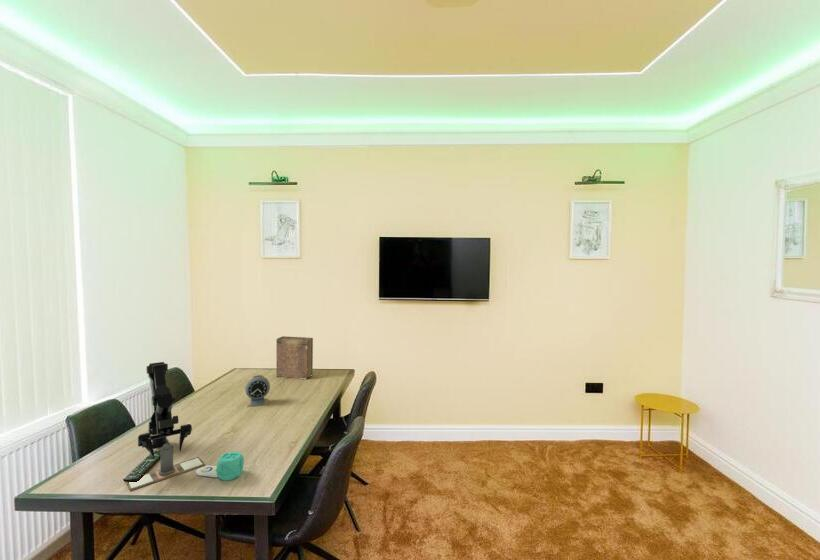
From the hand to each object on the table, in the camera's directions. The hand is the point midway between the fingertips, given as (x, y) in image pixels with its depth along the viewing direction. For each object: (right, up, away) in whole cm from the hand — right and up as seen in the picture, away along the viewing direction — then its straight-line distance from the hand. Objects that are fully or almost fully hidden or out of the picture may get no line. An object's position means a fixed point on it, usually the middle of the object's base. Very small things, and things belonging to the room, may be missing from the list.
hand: (167, 454), depth 153 cm
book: (+11, -3, +135) cm, 135 cm away
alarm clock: (+4, -5, +80) cm, 80 cm away
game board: (-1, -8, +1) cm, 8 cm away
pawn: (-1, -8, +1) cm, 8 cm away
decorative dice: (+25, -9, +1) cm, 27 cm away
